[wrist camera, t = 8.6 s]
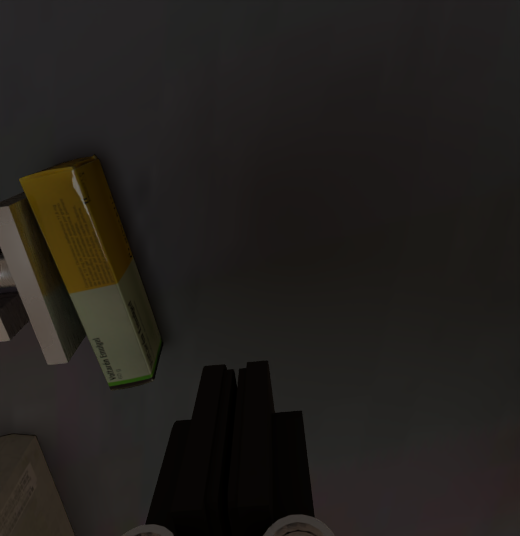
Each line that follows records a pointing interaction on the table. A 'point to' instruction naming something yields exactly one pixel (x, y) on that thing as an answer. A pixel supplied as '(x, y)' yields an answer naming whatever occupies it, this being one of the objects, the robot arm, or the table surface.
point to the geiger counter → (28, 491)
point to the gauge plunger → (37, 281)
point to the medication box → (97, 268)
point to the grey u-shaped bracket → (11, 315)
